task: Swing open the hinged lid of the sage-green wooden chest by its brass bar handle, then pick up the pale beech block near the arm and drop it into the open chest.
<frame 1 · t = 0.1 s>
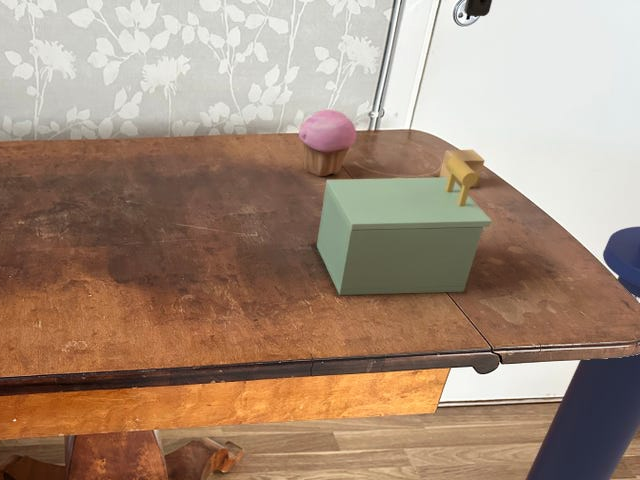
hand: (463, 6, 72), 31 cm above the table, tool pointing down, fingers open, 8 cm apart
cupcake: (322, 173, 117), on the table
block: (457, 182, 113), on the table
chest: (386, 267, 92), on the table
pastry: (395, 204, 107), on the table
lid: (407, 185, 85), point 11 cm above the table, hinge at 0.0°
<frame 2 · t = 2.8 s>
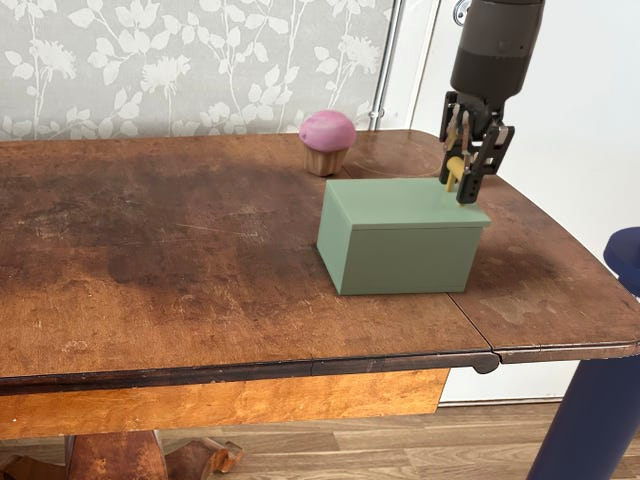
hand: (456, 192, 86), 10 cm above the table, tool pointing down, fingers closed on lid, 5 cm apart
lid: (407, 185, 85), point 11 cm above the table, hinge at 0.0°, touching gripper
everything else where it was.
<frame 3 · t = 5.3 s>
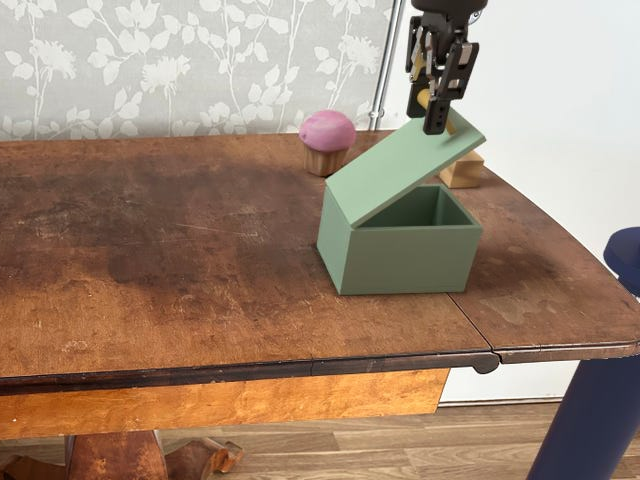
hand: (424, 124, 80), 19 cm above the table, tool pointing down, fingers closed on lid, 5 cm apart
lid: (390, 148, 82), point 16 cm above the table, hinge at 38.5°, touching gripper
everything else where it was.
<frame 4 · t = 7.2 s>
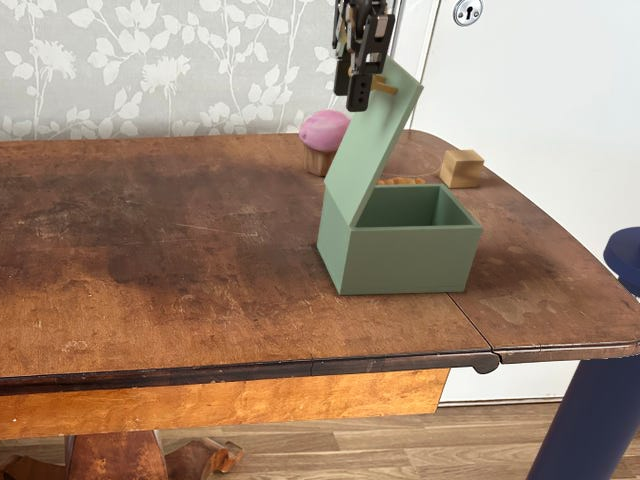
hand: (349, 101, 78), 21 cm above the table, tool pointing down, fingers closed on lid, 5 cm apart
lid: (351, 135, 81), point 18 cm above the table, hinge at 73.8°, touching gripper
everything else where it was.
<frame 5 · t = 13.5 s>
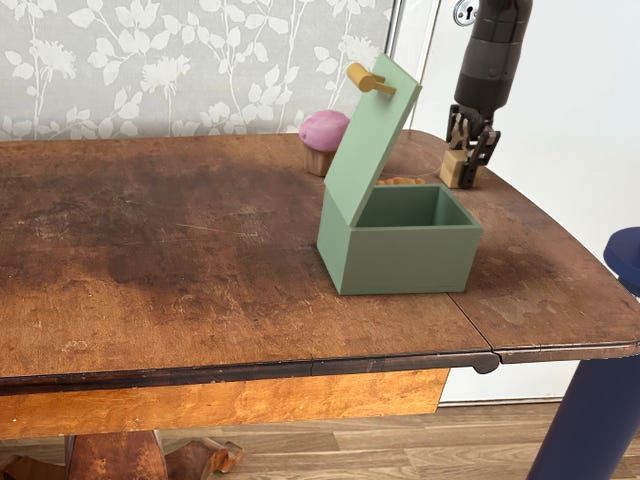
hand: (458, 180, 113), 0 cm above the table, tool pointing down, fingers closed on block, 4 cm apart
block: (457, 182, 113), on the table, touching gripper
lid: (350, 135, 81), point 18 cm above the table, hinge at 74.4°
everything else where it was.
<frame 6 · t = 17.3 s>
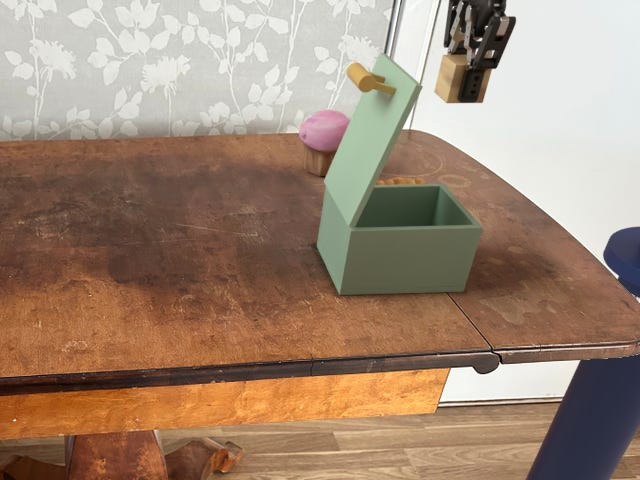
hand: (458, 94, 87), 19 cm above the table, tool pointing down, fingers closed on block, 4 cm apart
block: (457, 97, 87), point 19 cm above the table, touching gripper
everything else where it was.
when the fingers open (10 cm above the table, at t = 20.9 s): block drops 9 cm, resting on chest.
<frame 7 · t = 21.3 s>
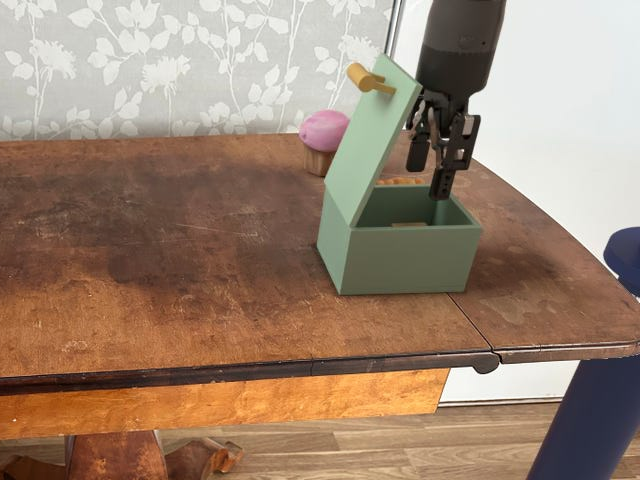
hand: (425, 184, 85), 11 cm above the table, tool pointing down, fingers open, 8 cm apart
block: (406, 262, 91), point 1 cm above the table, touching chest
everything else where it was.
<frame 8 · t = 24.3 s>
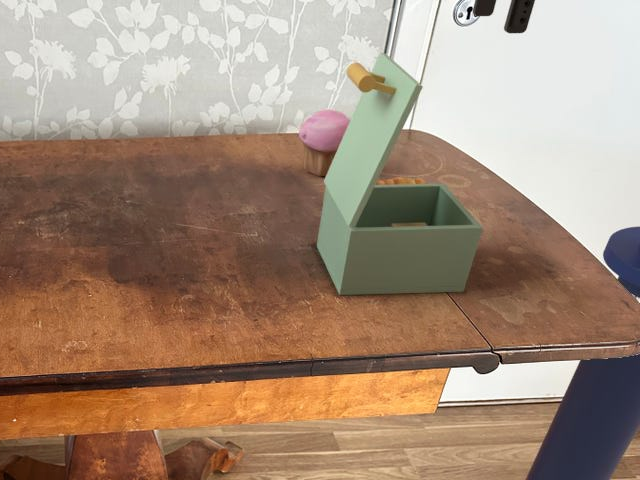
hand: (497, 23, 80), 28 cm above the table, tool pointing down, fingers open, 8 cm apart
nothing on the table moved.
at the end: lid at +74° (first picture: +0°); block inside the target area in the chest (2.4 cm from its centre), point 0.8 cm above the chest's base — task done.
